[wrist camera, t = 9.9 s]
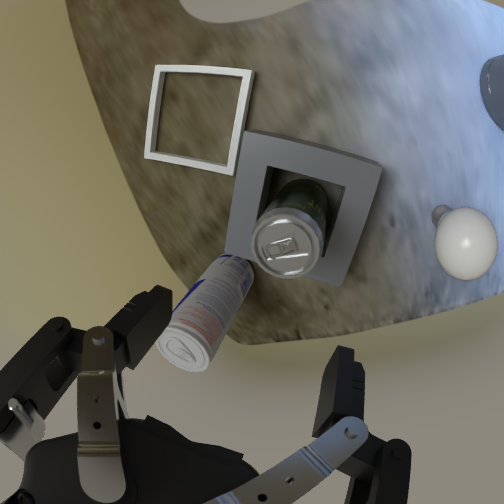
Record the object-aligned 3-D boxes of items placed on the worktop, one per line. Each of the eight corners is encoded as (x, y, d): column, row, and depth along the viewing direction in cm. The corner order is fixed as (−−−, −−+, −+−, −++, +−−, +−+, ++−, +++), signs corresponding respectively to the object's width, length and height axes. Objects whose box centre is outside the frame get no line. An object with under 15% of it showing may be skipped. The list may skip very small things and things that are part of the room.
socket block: (376, 161, 26) (382, 167, 23) (341, 268, 33) (340, 287, 29) (255, 129, 28) (244, 131, 25) (235, 237, 35) (224, 252, 31)
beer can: (289, 230, 33) (264, 288, 22) (271, 186, 31) (235, 225, 20) (334, 217, 30) (332, 271, 20) (317, 170, 29) (307, 201, 18)
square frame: (255, 71, 26) (252, 70, 25) (236, 173, 31) (232, 175, 30) (161, 66, 27) (155, 65, 26) (149, 156, 33) (144, 157, 32)
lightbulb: (473, 210, 25) (520, 252, 15) (441, 251, 28) (474, 306, 19) (437, 175, 25) (481, 205, 15) (404, 220, 28) (432, 269, 19)
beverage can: (213, 247, 36) (149, 320, 23) (256, 256, 35) (208, 339, 22) (213, 284, 39) (157, 362, 26) (253, 293, 38) (210, 380, 25)
